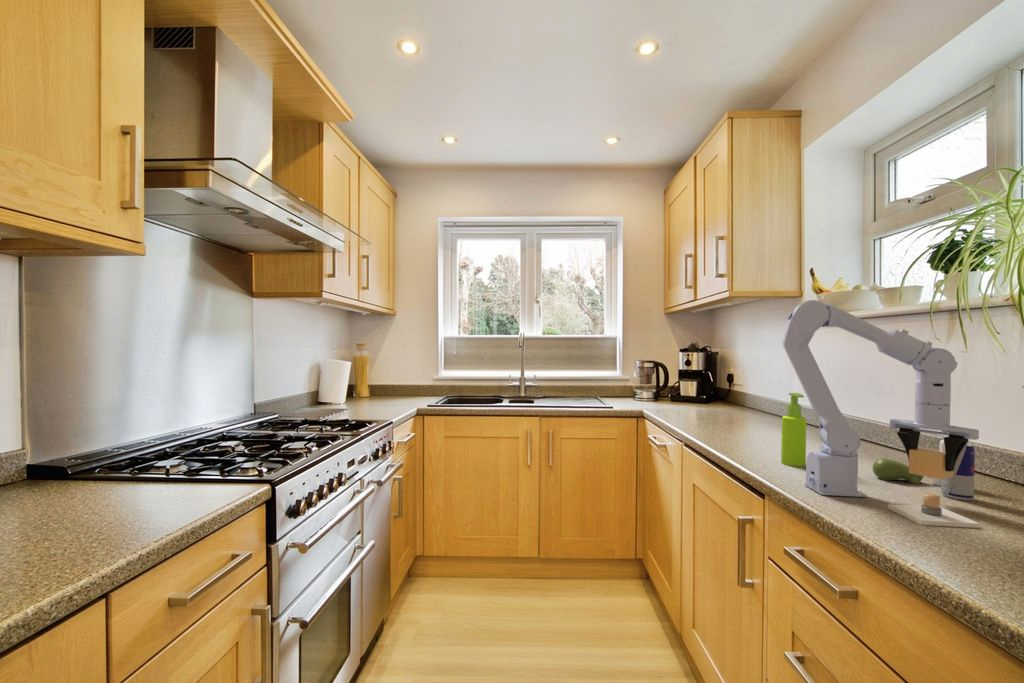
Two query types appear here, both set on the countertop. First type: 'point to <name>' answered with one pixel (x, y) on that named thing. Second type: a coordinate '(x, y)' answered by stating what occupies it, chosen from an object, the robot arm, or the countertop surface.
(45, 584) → the countertop surface
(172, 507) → the countertop surface
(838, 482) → the robot arm
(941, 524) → the plate
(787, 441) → the soap dispenser
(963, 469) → the energy drink
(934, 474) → the cardboard-colored cube
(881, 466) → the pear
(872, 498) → the countertop surface
